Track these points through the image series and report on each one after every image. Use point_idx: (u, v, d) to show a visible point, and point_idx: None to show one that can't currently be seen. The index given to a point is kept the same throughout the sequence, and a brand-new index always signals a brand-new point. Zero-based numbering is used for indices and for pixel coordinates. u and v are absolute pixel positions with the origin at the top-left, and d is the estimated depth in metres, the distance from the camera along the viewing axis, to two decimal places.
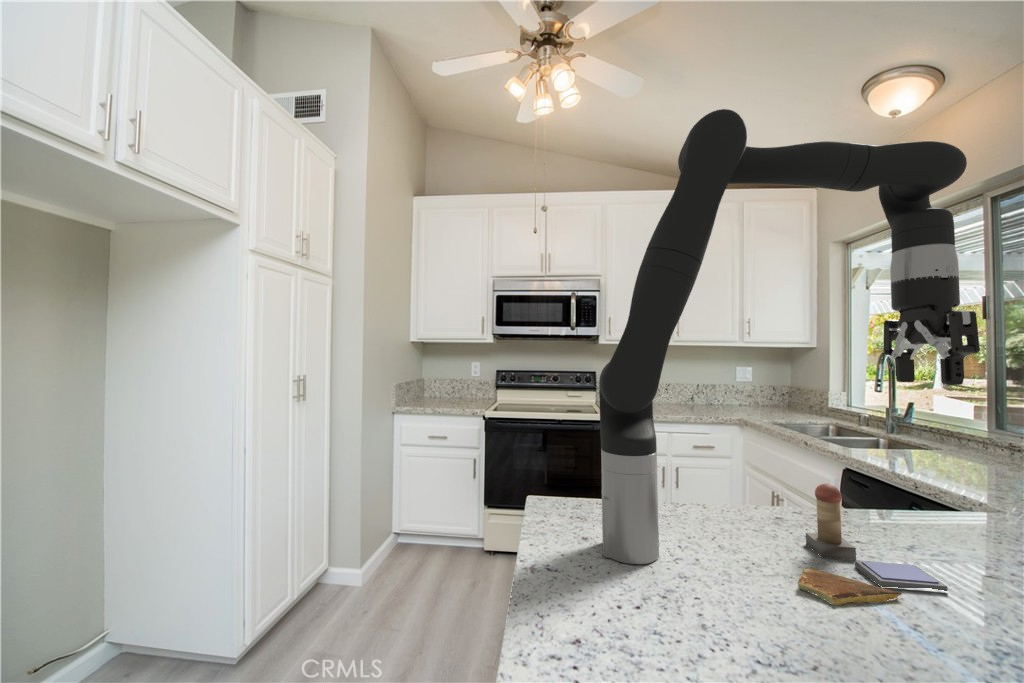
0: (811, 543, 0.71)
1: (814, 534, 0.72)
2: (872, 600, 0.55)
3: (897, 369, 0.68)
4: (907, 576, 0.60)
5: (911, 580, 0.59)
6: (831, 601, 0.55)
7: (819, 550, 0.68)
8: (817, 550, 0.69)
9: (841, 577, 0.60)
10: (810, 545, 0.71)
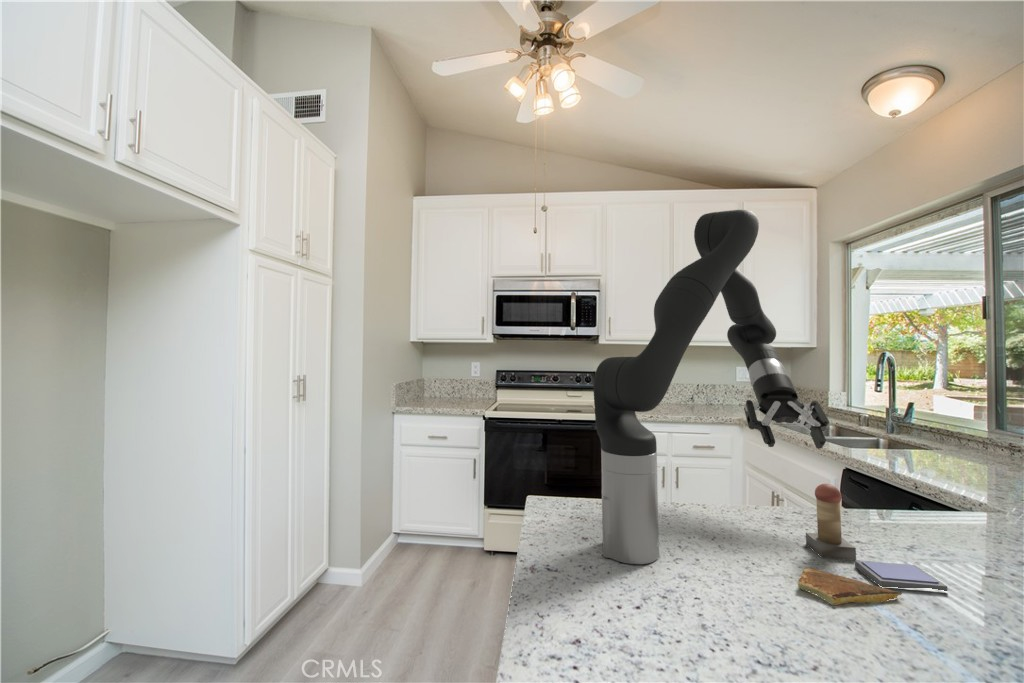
0: (811, 543, 0.71)
1: (814, 534, 0.72)
2: (872, 599, 0.55)
3: (770, 433, 0.83)
4: (907, 576, 0.60)
5: (911, 580, 0.59)
6: (831, 600, 0.55)
7: (819, 550, 0.68)
8: (817, 550, 0.69)
9: (841, 577, 0.60)
10: (810, 545, 0.71)
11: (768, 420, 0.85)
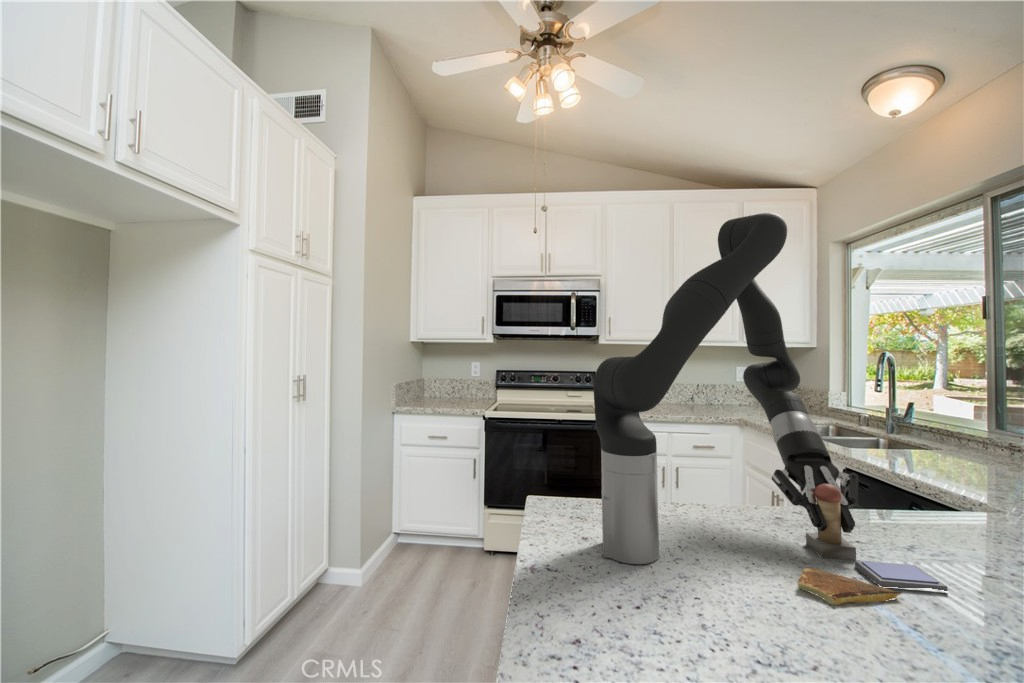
0: (811, 543, 0.71)
1: (814, 534, 0.72)
2: (872, 599, 0.56)
3: (820, 514, 0.69)
4: (907, 576, 0.60)
5: (911, 580, 0.59)
6: (831, 600, 0.55)
7: (819, 550, 0.68)
8: (817, 550, 0.69)
9: (841, 576, 0.60)
10: (811, 545, 0.71)
11: (813, 494, 0.71)
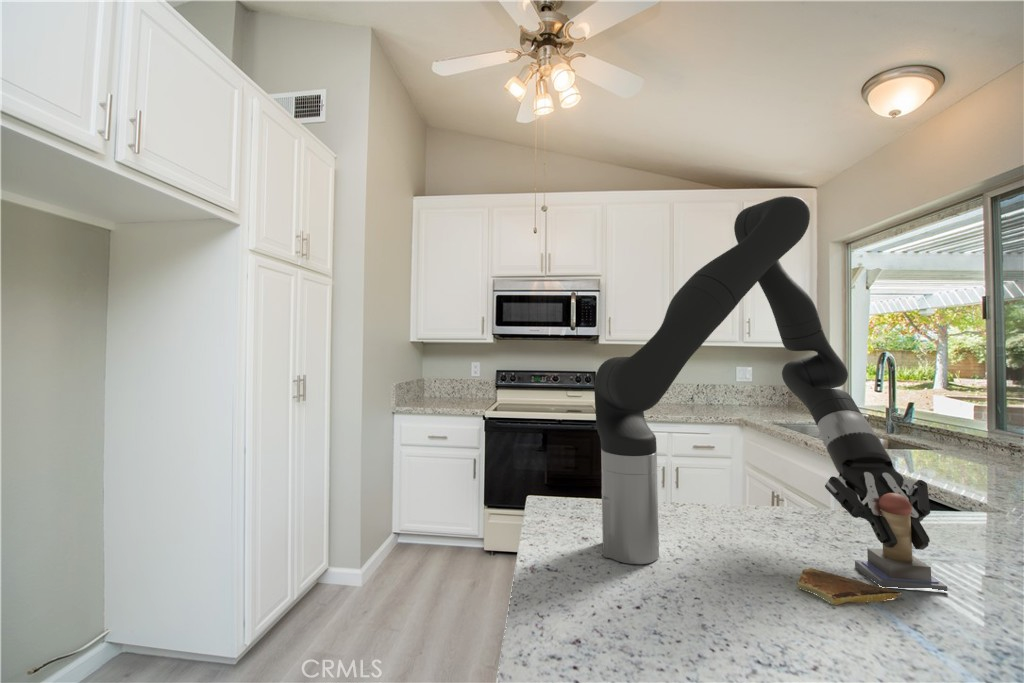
0: (874, 561, 0.62)
1: (877, 550, 0.63)
2: (872, 599, 0.56)
3: (887, 528, 0.60)
4: None
5: (911, 580, 0.59)
6: (831, 600, 0.55)
7: (887, 569, 0.60)
8: (884, 569, 0.60)
9: (840, 577, 0.60)
10: (874, 563, 0.62)
11: (877, 505, 0.63)
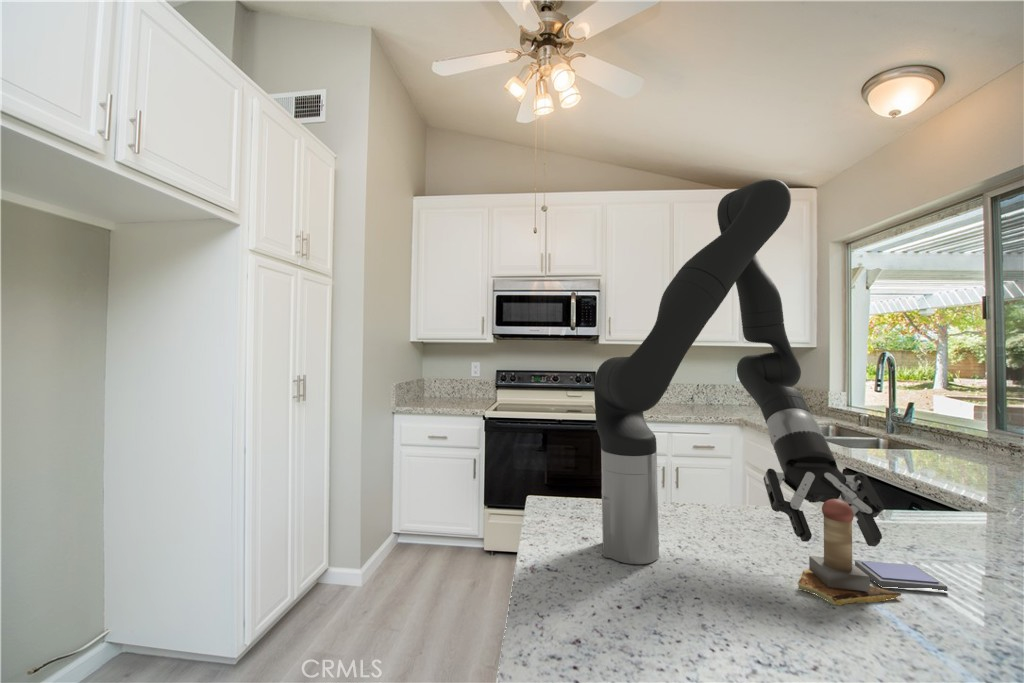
0: (815, 569, 0.60)
1: (819, 558, 0.61)
2: (872, 601, 0.56)
3: (804, 521, 0.60)
4: (907, 576, 0.60)
5: (911, 580, 0.59)
6: (831, 602, 0.55)
7: (826, 577, 0.58)
8: (823, 577, 0.58)
9: None
10: (815, 571, 0.60)
11: (799, 501, 0.62)
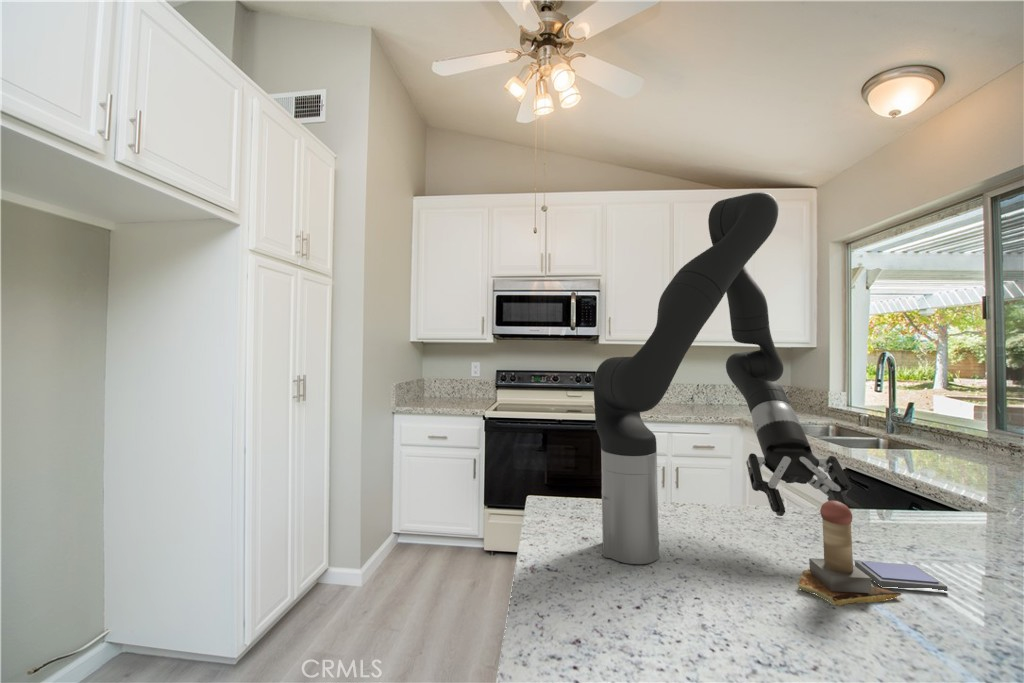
0: (816, 572, 0.60)
1: (819, 560, 0.61)
2: (872, 601, 0.56)
3: (779, 498, 0.68)
4: (907, 576, 0.60)
5: (911, 580, 0.59)
6: (832, 602, 0.55)
7: (828, 581, 0.57)
8: (825, 581, 0.58)
9: None
10: (816, 574, 0.60)
11: (776, 481, 0.70)
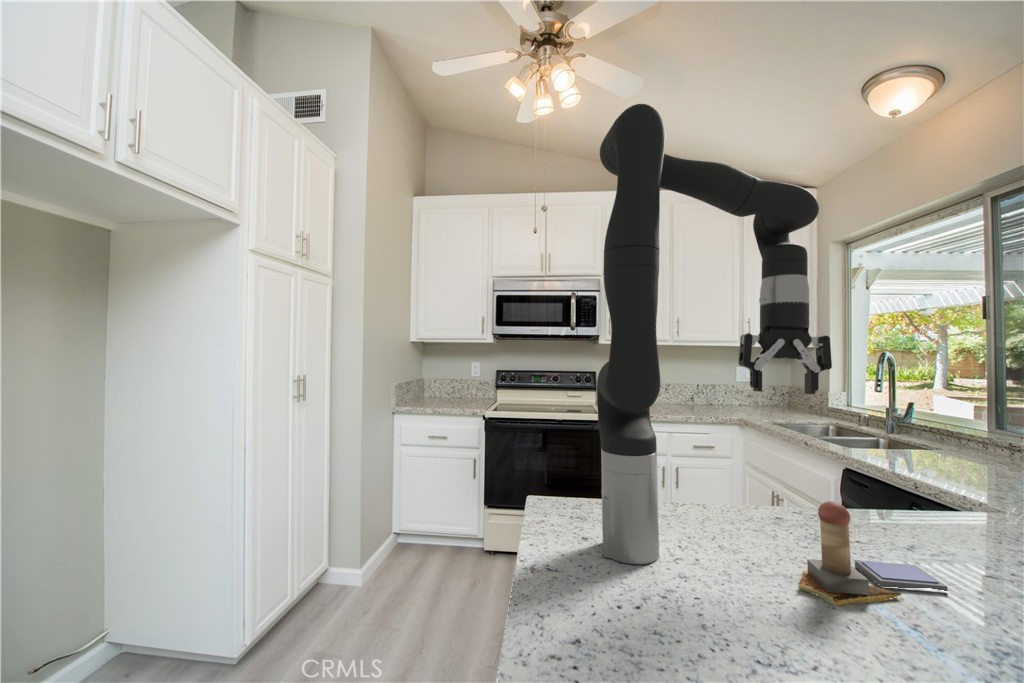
0: (814, 573, 0.59)
1: (817, 561, 0.60)
2: (872, 601, 0.56)
3: (759, 380, 0.74)
4: (907, 576, 0.60)
5: (911, 580, 0.59)
6: (832, 603, 0.55)
7: (825, 582, 0.57)
8: (822, 582, 0.57)
9: None
10: (814, 575, 0.60)
11: (763, 363, 0.74)
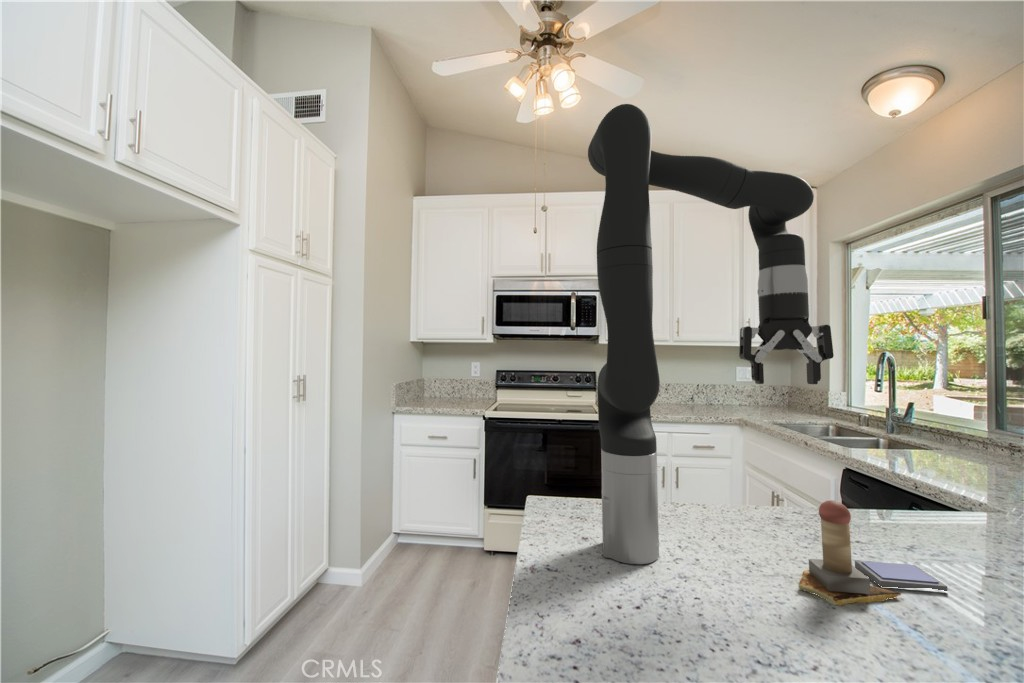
0: (815, 572, 0.60)
1: (819, 561, 0.61)
2: (872, 601, 0.56)
3: (761, 372, 0.74)
4: (907, 576, 0.60)
5: (911, 580, 0.59)
6: (832, 602, 0.55)
7: (826, 581, 0.57)
8: (823, 581, 0.58)
9: None
10: (815, 574, 0.60)
11: (763, 355, 0.74)
